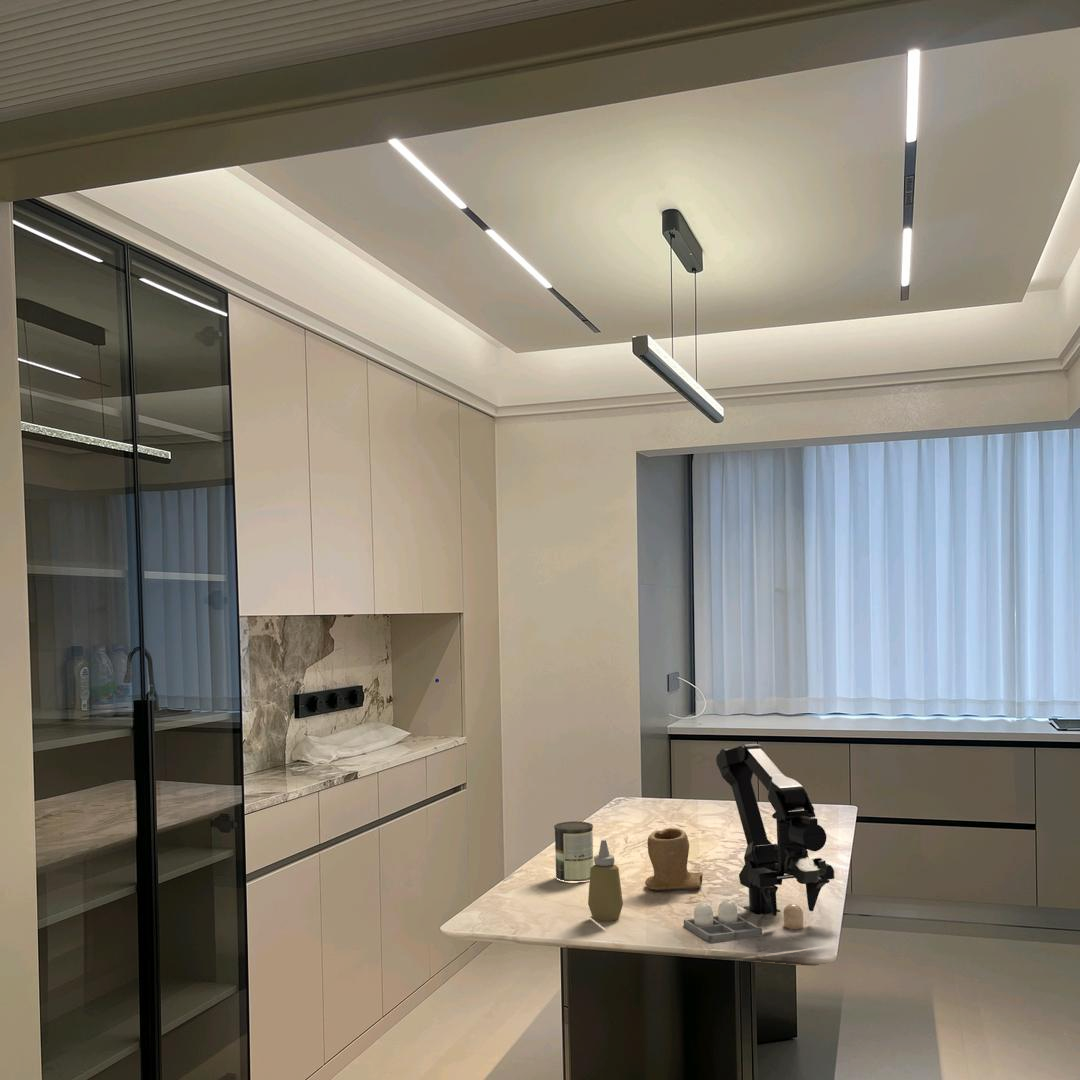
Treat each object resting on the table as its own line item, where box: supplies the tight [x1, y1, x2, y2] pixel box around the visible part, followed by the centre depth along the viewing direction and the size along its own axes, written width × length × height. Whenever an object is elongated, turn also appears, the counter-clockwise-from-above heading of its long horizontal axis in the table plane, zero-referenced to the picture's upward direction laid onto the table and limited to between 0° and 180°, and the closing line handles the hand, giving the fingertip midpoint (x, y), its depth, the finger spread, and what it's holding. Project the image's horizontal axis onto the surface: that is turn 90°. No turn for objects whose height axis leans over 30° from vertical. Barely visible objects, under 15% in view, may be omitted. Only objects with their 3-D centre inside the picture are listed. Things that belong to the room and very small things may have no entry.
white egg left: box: [717, 900, 738, 924], centre depth 237 cm, size 4×4×5 cm
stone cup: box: [644, 827, 704, 891], centre depth 271 cm, size 15×12×15 cm
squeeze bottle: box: [587, 839, 624, 923], centre depth 246 cm, size 8×8×18 cm
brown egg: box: [783, 903, 804, 930], centre depth 236 cm, size 4×4×5 cm
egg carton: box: [683, 914, 763, 943], centre depth 234 cm, size 13×13×2 cm
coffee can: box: [554, 820, 594, 881], centre depth 284 cm, size 10×10×14 cm
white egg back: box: [693, 903, 714, 927], centre depth 236 cm, size 4×4×5 cm
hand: (793, 913), depth 236 cm, fingers open, 9 cm apart
